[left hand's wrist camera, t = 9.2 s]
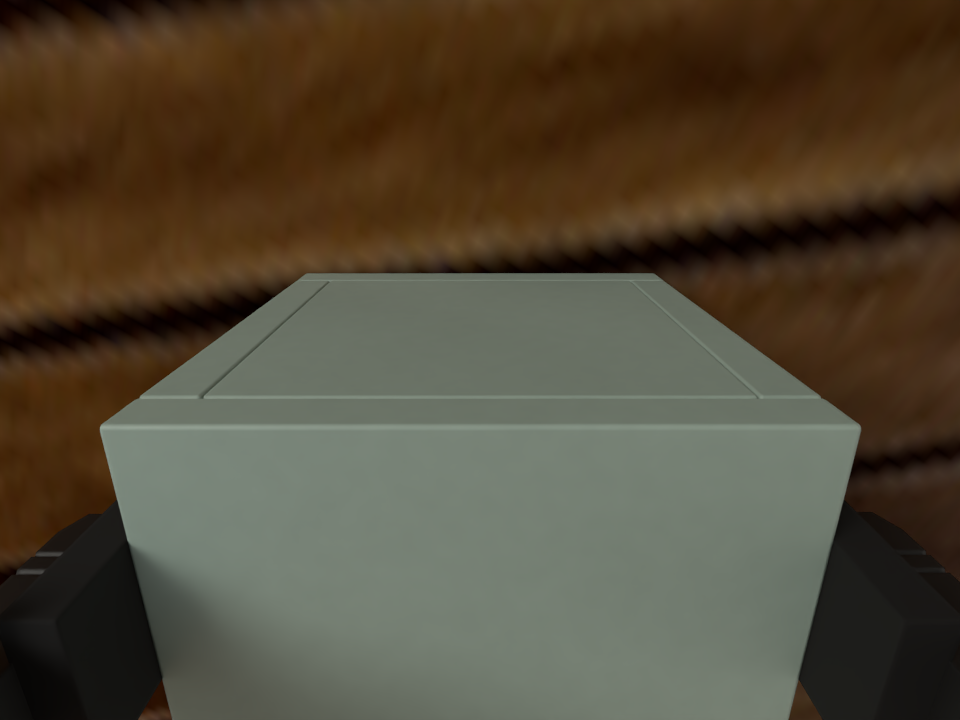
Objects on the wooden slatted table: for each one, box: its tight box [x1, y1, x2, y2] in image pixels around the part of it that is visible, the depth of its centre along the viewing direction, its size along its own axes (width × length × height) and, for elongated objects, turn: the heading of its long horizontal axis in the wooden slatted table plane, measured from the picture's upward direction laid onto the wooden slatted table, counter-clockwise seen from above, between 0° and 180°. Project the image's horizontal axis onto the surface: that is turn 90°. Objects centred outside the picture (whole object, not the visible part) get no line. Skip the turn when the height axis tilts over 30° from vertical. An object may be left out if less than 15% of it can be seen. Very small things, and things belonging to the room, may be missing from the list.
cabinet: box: [100, 273, 861, 720], centre depth 15 cm, size 17×10×10 cm, turn 0°
